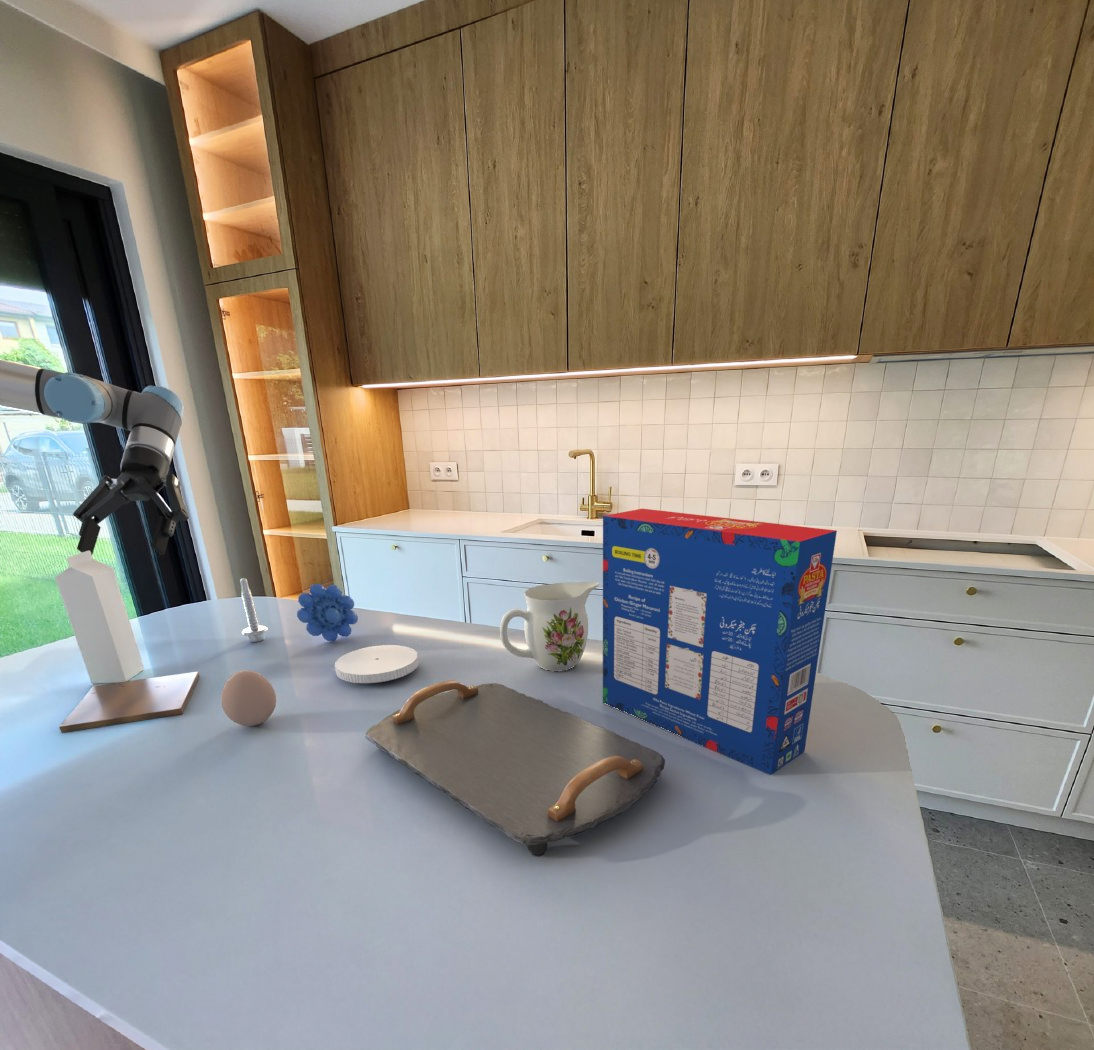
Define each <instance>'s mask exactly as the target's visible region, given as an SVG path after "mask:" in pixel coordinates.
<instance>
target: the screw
mask: <svg viewBox="0 0 1094 1050" xmlns="http://www.w3.org/2000/svg"><path fill="white" fill-rule="evenodd" d="M239 584H240V588H241V589H240V590H241V598H242V600H243V606H244V609H245V610H244V611H245V612H246V613H245V614H246V617H247V623H248V627H246V628H244V629H243V630H242V631H241V635H242V636H246V637H248V641H249V642H251V643H258V642H262V641H264V639H265V638H264V634H265V633H267V632H268V631H269V629H268V627H266V626H265V625H259V621H258V618H257V613H256V610H255V609H256V608H255V604H254V601H253V600H254V598H253V595H252V592H251V589H250V586H249V583H248V580H247V578H244V577H242V578H241V579H239Z"/></svg>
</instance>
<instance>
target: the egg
mask: <svg viewBox="0 0 1094 1050" xmlns="http://www.w3.org/2000/svg"><path fill="white" fill-rule="evenodd" d="M224 683H225V684H224V686H223V688H222V692H221V696H220V700H221V707H222V710H223V712H224V714H225V716H226V717H227V718H228V719H229V720H231V721H233V723H235V724H238V725H240V726H244V727H254V726H255V727H256V726H258V725H262V724H263V723H264V722H266V721H267V720H268V719H269V718H270V717H271V716H272V714H273V713H274V710H275V709H276V706H277V695H276V691H275V689H274V687H273V685H272V684H271V682H270V681H269V680H268V679H267V678H266V677H265V676H263V675H262V674H260V673H259V672H256V671H254V670H249V669H248V670H247V669H245V670H244V669H243V670H240V671H237V672H235V673H233V674H232V675H231V676H230V677H229V678H228V679H227V680H226V681H225V682H224Z"/></svg>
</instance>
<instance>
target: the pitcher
mask: <svg viewBox="0 0 1094 1050" xmlns="http://www.w3.org/2000/svg"><path fill="white" fill-rule="evenodd" d="M599 586H600V582H598V581H582V582H581V581H580V582H556V583H554V582H553V583H545V584H542V585H536V586H534V587H533V586H532V587H530V588H528V589H526V590H525V591H524V598H525V602H526V606H527V607H526V610H524V609H521V608H512V609H510V610H508V611H506V613H505V614H504V615H503V616H502V618H501V620H500V624H499V636H500V641H501V643H502V645H503V647H504V648H505V649H506V650H507V651H508V652H509V653H510V654H512V655H513V656H516V657H519V658H527V659H529V658H530V659H533V660H534V662H535V663H536V664H537V665H538V667H539V666H540V667H541V668H543V669H545V670H544V671H547V670H552V671H551V672H554V671H558V672H560V671H559V670H566V669H569V668H571V667H573V666H575V665H576V666H577V664H578V663H579V661H580V660H581V659H582V657H583V655H584V652H585V649H586V647H587V641H588V637H589V617H588V613H587V610H586V609H587V608H586V603H587V600H588V598H589V596H590V594H591V592H593V590H595V589H596V588H597V587H599ZM514 618H523V619H524V621H523V623H524V624H523V628H524V638H525V641H526V646H527V649H524V648H523V649H522V648H519V647H516V646H515V645H514V644H512V643H511V642H510V640H509V637H508V636H509V635H508V626H509V624H510V622H511V620H512V619H514ZM576 666H575V667H576ZM540 667H539V668H540ZM541 668H540V669H541ZM543 669H542V670H543ZM566 671H567V670H566Z"/></svg>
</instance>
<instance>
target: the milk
mask: <svg viewBox="0 0 1094 1050" xmlns="http://www.w3.org/2000/svg"><path fill="white" fill-rule="evenodd" d="M66 561H67V564H68V567H67V568H66V569H65V570H63V571H62V572H60V573H59V574H58V575H57V576H55V577H54V580H55V582H56V586H57V588H58V591H59V594H60V597H61V600H62V603H63V605H64V608H65V612H66V614H67V617H68V620H69V623H70V625H71V628H72V632H73V635H74V637H75V640H76V642H77V646H78V649H79V651H80V654H81V658H82V660H83V663H84V666H85V668H86V671H87V675H88V677H89V680H90V684H93V685H94V684H95V685H96V684H111V683H118V682H125V681H131V679H133V678H134V677H136V676H137V675H138V674H140V673H141V672H143V671H144V670H145V667H144V664H143V659H142V657H141V653H140V649H139V647H138V644H137V640H136V637H135V634H134V630H133V628H132V624H131V621H130V618H129V614H128V612H127V607H126V605H125V602H124V599H123V596H122V592H121V589H120V585H119V583H118V579H117V575H116V572H115V569H114V567H112V566H110V565H107V564H105V563H103V562H101V561H98V560H96V559H94V558H93V554H92V555H91V552H90V551H85V552H79V553H77V554H73V555H70V556H67V557H66Z"/></svg>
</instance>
